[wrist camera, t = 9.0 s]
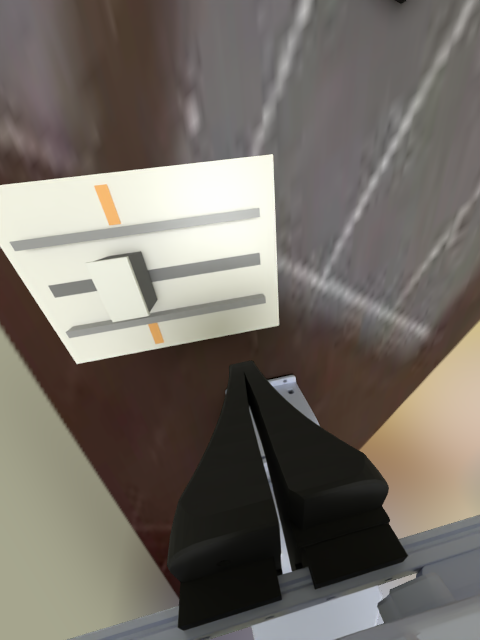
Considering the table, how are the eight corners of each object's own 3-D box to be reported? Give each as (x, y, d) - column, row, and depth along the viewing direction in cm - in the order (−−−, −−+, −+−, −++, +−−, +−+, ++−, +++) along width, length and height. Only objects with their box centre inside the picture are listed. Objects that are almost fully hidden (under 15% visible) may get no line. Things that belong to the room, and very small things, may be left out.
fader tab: (141, 250, 15) (126, 257, 12) (158, 300, 17) (148, 315, 14) (107, 255, 15) (84, 263, 12) (128, 305, 17) (112, 322, 14)
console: (265, 162, 16) (277, 149, 13) (273, 317, 22) (282, 330, 19) (-7, 193, 14) (-56, 186, 11) (87, 351, 20) (70, 370, 18)
